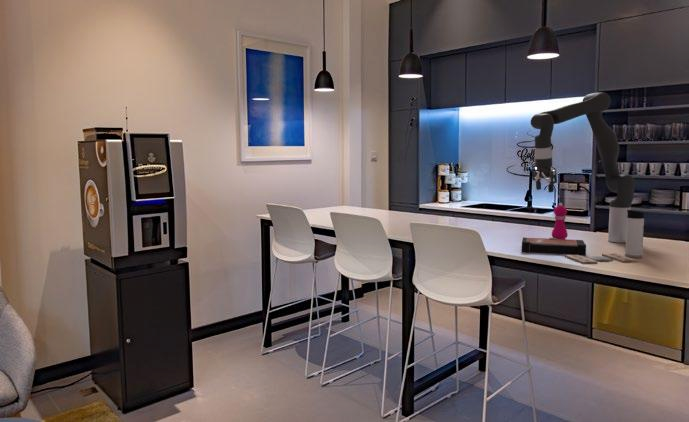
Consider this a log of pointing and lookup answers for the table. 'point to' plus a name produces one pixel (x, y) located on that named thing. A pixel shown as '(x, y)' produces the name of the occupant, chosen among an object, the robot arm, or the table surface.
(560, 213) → the pepper mill
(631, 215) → the travel mug
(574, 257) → the brown flat boards
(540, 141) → the robot arm
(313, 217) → the table surface
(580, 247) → the book
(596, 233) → the table surface
